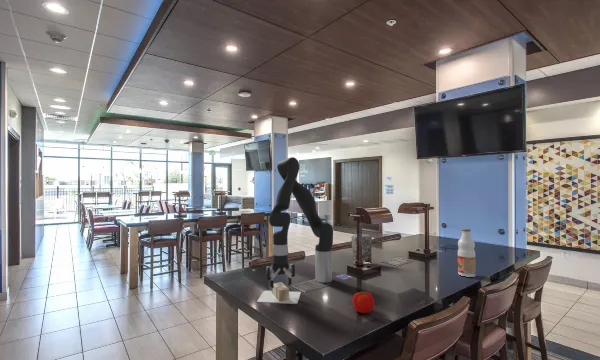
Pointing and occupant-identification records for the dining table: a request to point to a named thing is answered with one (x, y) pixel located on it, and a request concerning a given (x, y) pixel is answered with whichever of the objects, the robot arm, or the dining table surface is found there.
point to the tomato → (363, 302)
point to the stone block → (365, 248)
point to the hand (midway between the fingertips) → (280, 286)
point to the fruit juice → (466, 255)
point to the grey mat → (270, 298)
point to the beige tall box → (280, 291)
